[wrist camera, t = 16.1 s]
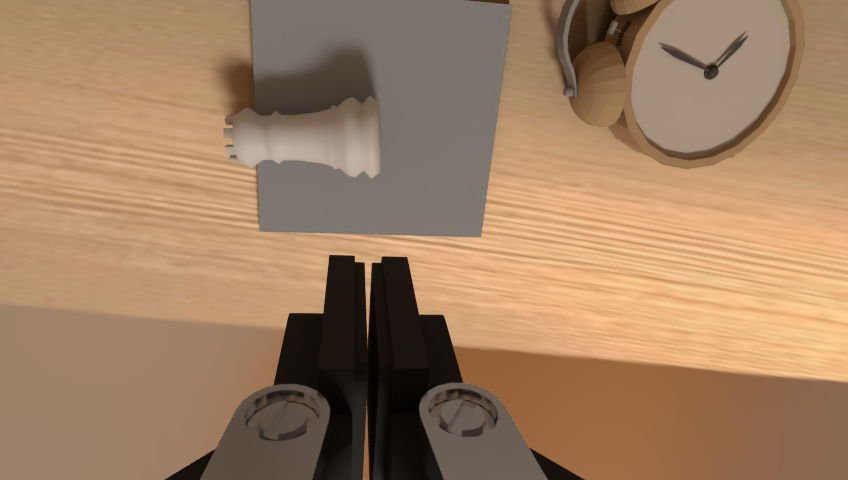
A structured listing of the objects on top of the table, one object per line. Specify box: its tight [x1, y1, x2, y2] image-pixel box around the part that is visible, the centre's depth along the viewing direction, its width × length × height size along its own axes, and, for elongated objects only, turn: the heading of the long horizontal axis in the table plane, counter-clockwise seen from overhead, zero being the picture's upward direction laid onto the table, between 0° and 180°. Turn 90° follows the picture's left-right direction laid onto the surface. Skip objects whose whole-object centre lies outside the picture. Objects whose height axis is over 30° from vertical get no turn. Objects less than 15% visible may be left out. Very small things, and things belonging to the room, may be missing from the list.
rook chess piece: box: [224, 96, 381, 179], centre depth 29 cm, size 4×4×8 cm
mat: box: [251, 0, 513, 237], centre depth 32 cm, size 14×14×1 cm
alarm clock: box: [556, 0, 805, 169], centre depth 31 cm, size 11×5×15 cm
